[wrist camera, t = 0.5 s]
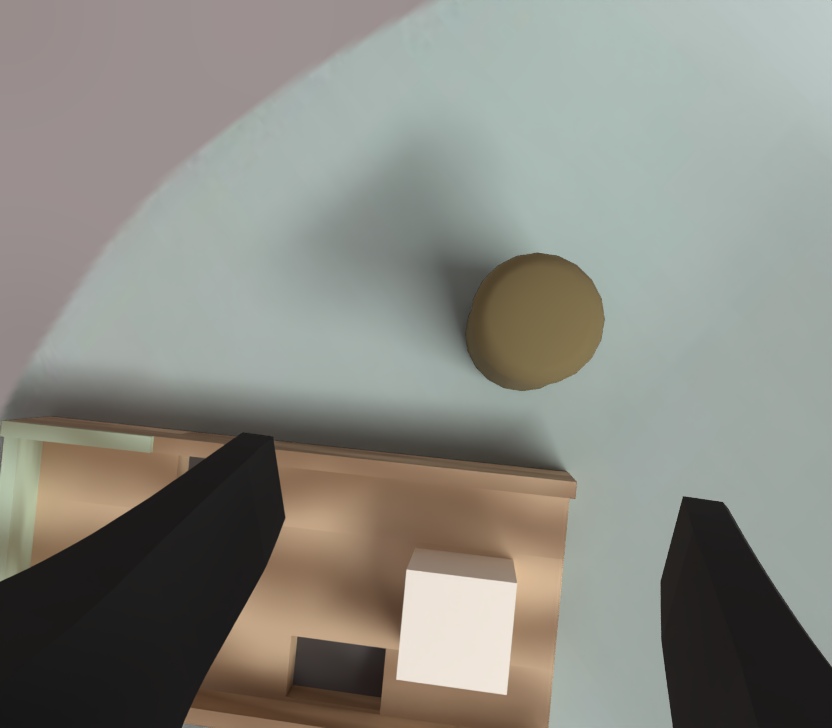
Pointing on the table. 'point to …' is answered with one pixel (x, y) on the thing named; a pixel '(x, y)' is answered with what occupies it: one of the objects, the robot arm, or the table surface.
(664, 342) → the table surface
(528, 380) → the cork
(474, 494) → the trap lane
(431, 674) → the block
